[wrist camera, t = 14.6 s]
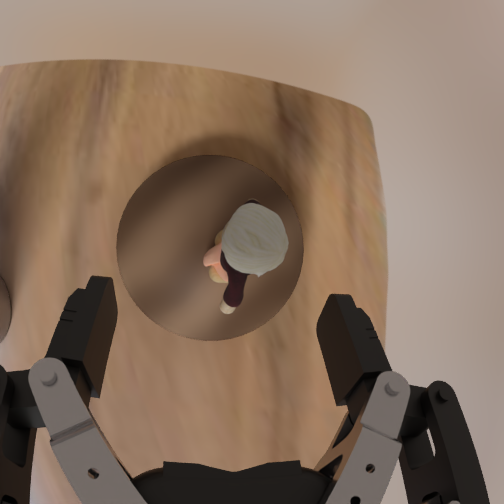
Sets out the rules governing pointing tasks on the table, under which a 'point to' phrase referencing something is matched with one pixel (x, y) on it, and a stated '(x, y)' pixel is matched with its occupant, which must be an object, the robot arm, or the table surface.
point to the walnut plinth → (201, 247)
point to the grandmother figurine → (246, 250)
